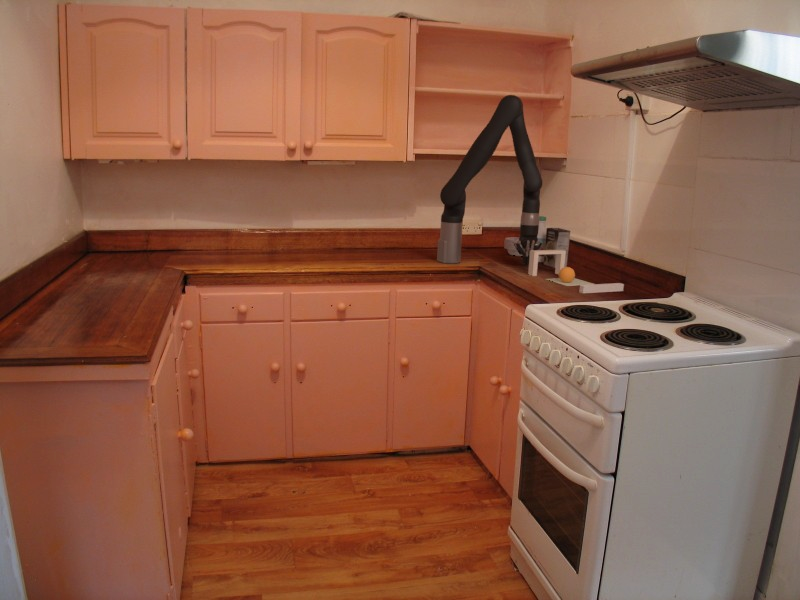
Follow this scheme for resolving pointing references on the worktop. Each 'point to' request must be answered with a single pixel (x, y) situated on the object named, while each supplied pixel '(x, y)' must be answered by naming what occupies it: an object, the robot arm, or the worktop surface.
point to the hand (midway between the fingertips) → (526, 265)
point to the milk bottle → (542, 236)
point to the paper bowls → (512, 245)
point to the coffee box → (556, 245)
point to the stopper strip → (601, 288)
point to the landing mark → (572, 283)
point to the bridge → (535, 253)
